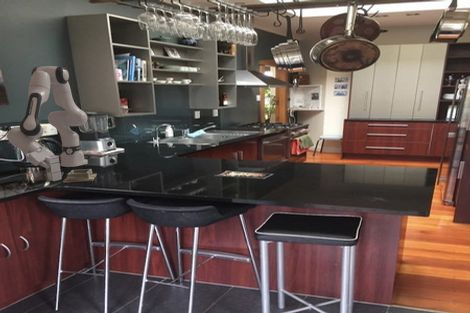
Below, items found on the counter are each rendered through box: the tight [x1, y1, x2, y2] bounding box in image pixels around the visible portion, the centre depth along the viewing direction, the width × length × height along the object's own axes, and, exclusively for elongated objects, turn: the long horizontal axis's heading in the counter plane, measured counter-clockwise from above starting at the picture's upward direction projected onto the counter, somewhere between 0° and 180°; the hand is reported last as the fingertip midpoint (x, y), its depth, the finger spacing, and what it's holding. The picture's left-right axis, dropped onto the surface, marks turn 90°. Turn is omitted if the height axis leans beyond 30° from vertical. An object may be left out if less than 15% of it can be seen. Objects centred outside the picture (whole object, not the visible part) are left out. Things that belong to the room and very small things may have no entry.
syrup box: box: [44, 154, 62, 182], centre depth 196 cm, size 6×6×14 cm
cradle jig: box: [62, 168, 98, 184], centre depth 198 cm, size 14×16×4 cm
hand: (52, 165), depth 196 cm, fingers open, 8 cm apart
